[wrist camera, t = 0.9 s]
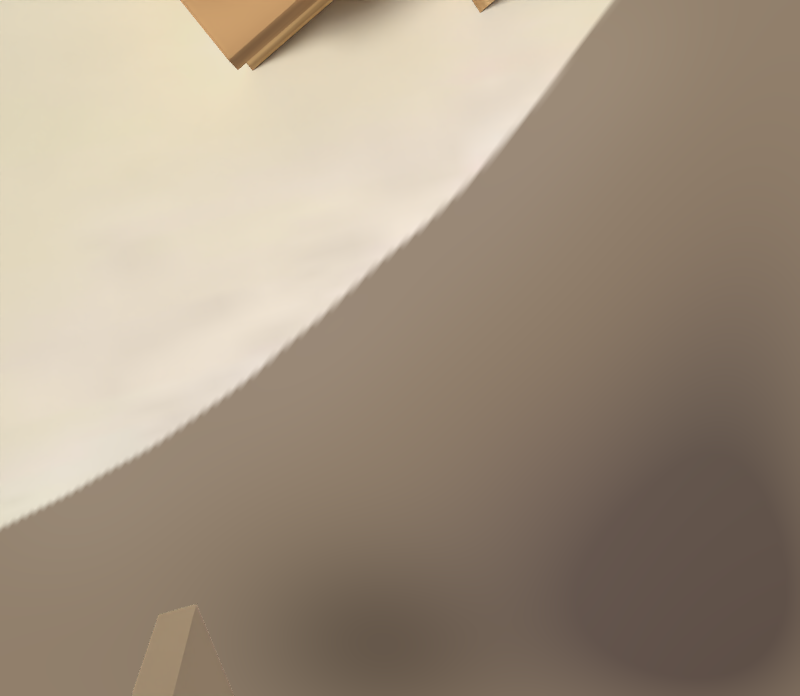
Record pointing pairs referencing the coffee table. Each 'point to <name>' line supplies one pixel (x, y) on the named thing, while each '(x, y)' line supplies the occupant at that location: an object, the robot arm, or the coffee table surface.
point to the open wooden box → (481, 3)
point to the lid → (245, 23)
